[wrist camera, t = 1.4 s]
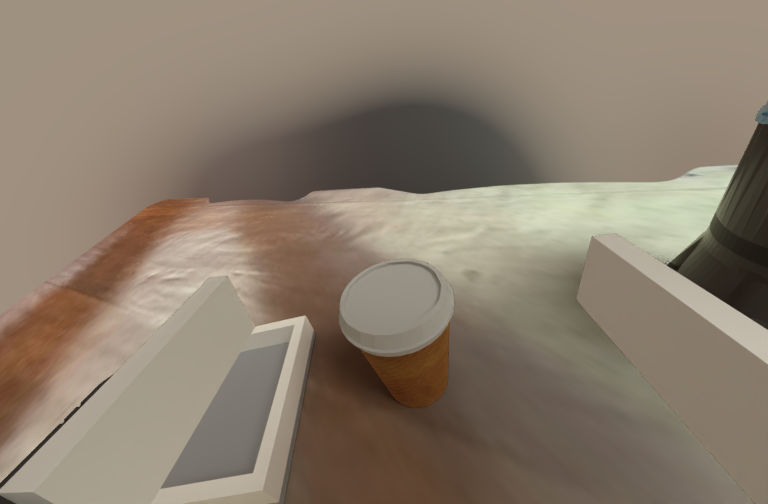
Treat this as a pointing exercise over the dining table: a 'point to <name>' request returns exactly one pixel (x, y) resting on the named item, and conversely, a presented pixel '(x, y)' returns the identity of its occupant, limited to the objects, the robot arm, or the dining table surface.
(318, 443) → the dining table surface
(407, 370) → the disposable coffee cup
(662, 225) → the dining table surface
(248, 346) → the square well
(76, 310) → the dining table surface
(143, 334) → the dining table surface
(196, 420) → the robot arm
